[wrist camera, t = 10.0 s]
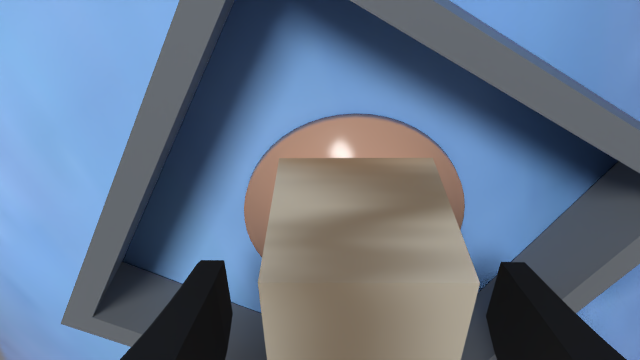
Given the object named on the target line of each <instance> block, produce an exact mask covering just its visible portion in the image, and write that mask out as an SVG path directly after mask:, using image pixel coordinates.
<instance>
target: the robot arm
mask: <svg viewBox="0 0 640 360" xmlns="http://www.w3.org/2000/svg"><path fill="white" fill-rule="evenodd" d="M232 316H233V312H232V306H231V300H230V293H229V287H228V281H227V275H226V269H225V263H224V261H223V260H201V261H200V262H199V263H198V264H197V265H196V266H195V268H194V269H193V271H192V272H191V273H190V275H189V276H188V278H187V279H186V280H185V282H184V283H183V284H182V286H181V287H180V288H179V290H178V291H177V292H176V294H175V295H174V296H173V298H172V299H171V300H170V302H169V303H168V304H167V305H166V307H165V308H164V309H163V310H162V312H161V313H160V314H159V315H158V317H157V318H156V319H155V320H154V322H153V323H152V324H151V325H150V326H149V328H148V329H147V330H146V331H145V332H144V333H143V334H142V336H141V337H140V338H139V339H138V340H137V341H136V342H135V344H134V345H133V346H132V347H131V348H130V349H129V350H128V351H127V353H126V354H125V355H124V356H123V357H122V358H121V359H120V360H225V358H226V354H227V350H228V343H229V337H230V330H231V323H232ZM486 319H487V323H488V327H489V332H490V336H491V340H492V344H493V348H494V352H495V355H496V358H497V360H626V359H625V358H624V357H623V356H622V355H621V354H619V353H618V352H617V351H616V350H615V349H614V348H612V347H611V346H610V345H609V344H608V343H607V342H606V341H605V340H603V339H602V338H601V337H600V336H599V335H598V334H597V333H596V332H595V331H594V330H593V329H592V328H590V327H589V326H588V325H587V324H586V323H585V322H584V321H583V320H582V319H581V318H580V317H579V316H578V315H577V314H576V313H575V312H574V311H573V310H572V309H571V308H570V307H569V306H568V305H567V304H566V303H565V302H564V301H563V300H562V299H561V298H560V297H559V296H558V295H557V294H556V293H555V292H554V291H553V290H552V289H551V288H550V287H549V286H548V285H547V284H546V283H545V282H544V281H543V280H542V279H541V278H540V277H539V276H538V275H537V274H536V273H535V272H534V271H533V270H532V269H531V268H530V267H529V266H528V265H527V264H526V263H525V262H501V264H500V267H499V271H498V274H497V278H496V281H495V285H494V288H493V292H492V296H491V299H490V303H489V306H488V310H487V313H486Z"/></svg>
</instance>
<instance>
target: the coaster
mask: <svg viewBox="0 0 640 360" xmlns="http://www.w3.org/2000/svg"><path fill="white" fill-rule="evenodd" d="M279 158H433V160H434V162H435V165H436V168H437V170H438V173H439V176H440V178H441V181H442V184H443V186H444V189H445V192H446V194H447V197H448V200H449V202H450V205H451V208H452V210H453V213H454V215H455V218H456V221H457V223H458V226H459V229H461V225H462V221H463V217H464V208H465V205H464V193H463V189H462V185H461V182H460V179H459V177H458V174H457V172H456V170H455V168H454V165H453V164H452V162H451V160H450V159H449V157H448V156H447V154H446V153H445V152H444V151H443V150H442V148H441V147H440V146H439V145H438V144H437V143H436V142H435V141H433V140H432V139H431V138H430V137H429V136H428V135H426V134H424V133H423V132H421V131H420V130H418V129H416V128H415V127H412V126H410V125H408V124H406V123H404V122H401V121H398V120H395V119H392V118H388V117H383V116H378V115H372V114H343V115H336V116H330V117H325V118H322V119H318V120H315V121H312V122H309V123H307V124H305V125H303V126H300V127H298V128H296V129H294V130H293V131H291V132H290V133H288V134H286V135H285V136H283V137H282V138H281V139H279V140H278V141H277V142H276V143H275V144H274V145H272V146H271V147H270V149H269V150H268V151H267V152H266V153H265V154H264V155H263V156H262V158H261V159H260V161H259V162H258V164H257V165H256V167H255V169H254V171H253V173H252V176H251V178H250V181H249V185H248V188H247V192H246V196H245V204H244V216H245V223H246V228H247V232H248V234H249V237H250V239H251V242H252V243H253V245H254V247H255V249H256V250H257V252H258V253H259V254H260V256H261V257H262V256H263V250H264V244H265V238H266V232H267V227H268V221H269V215H270V209H271V203H272V198H273V192H274V186H275V180H276V174H277V168H278V163H279Z"/></svg>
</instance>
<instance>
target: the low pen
mask: <svg viewBox="0 0 640 360" xmlns="http://www.w3.org/2000/svg"><path fill="white" fill-rule="evenodd" d="M234 1H235V0H180V1H179V3H178V6H177V9H176V11H175V14H174V17H173V20H172V22H171V25H170V28H169V30H168V33H167V36H166V39H165V41H164V44H163V47H162V50H161V52H160V55H159V58H158V60H157V63H156V66H155V69H154V71H153V74H152V77H151V79H150V82H149V85H148V88H147V90H146V93H145V96H144V98H143V101H142V104H141V107H140V109H139V112H138V115H137V118H136V120H135V123H134V126H133V128H132V131H131V134H130V137H129V139H128V142H127V145H126V147H125V150H124V153H123V156H122V158H121V161H120V164H119V166H118V169H117V172H116V175H115V177H114V180H113V183H112V186H111V188H110V191H109V194H108V196H107V199H106V202H105V205H104V207H103V210H102V213H101V215H100V218H99V221H98V224H97V226H96V229H95V232H94V234H93V237H92V240H91V243H90V245H89V248H88V251H87V254H86V256H85V259H84V262H83V264H82V267H81V270H80V273H79V275H78V278H77V281H76V283H75V286H74V289H73V292H72V294H71V297H70V300H69V302H68V305H67V308H66V311H65V313H64V316H63V319H62V322H61V324H63V325H66V326H69V327H72V328H75V329H78V330H81V331H84V332H87V333H90V334H94V335H97V336H100V337H103V338H106V339H109V340H112V341H115V342H118V343H121V344H124V345H127V346H130V347H132V346H133V345H134V344H135V342H136V341H137V340H138V339H139V338H140V337H141V336H142V334H143V333H144V332H145V331H146V330H147V329H148V328H149V326H150V325H151V324H152V323H153V322H154V320H155V319H156V318H157V317H158V315H159V314H160V313H161V312H162V310H163V309H164V308H165V307H166V305H167V304H168V303H169V302H170V300H171V299H172V298H173V296H174V295H175V294H176V292H177V291H178V290H179V288H180V287H181V286H182V284H180V283H178V282H175V281H172V280H170V279H167V278H164V277H162V276H159V275H156V274H154V273H151V272H148V271H145V270H143V269H140V268H137V267H135V266H132V265H129V264H127V263H124V262H122V261H123V258H124V256H125V254H126V252H127V249H128V247H129V245H130V242H131V240H132V238H133V235H134V233H135V231H136V228H137V226H138V224H139V221H140V219H141V217H142V214H143V212H144V210H145V207H146V205H147V203H148V200H149V198H150V196H151V193H152V191H153V189H154V187H155V184H156V182H157V180H158V177H159V175H160V173H161V170H162V168H163V166H164V163H165V161H166V159H167V156H168V154H169V152H170V149H171V147H172V145H173V142H174V140H175V138H176V135H177V133H178V131H179V128H180V126H181V124H182V122H183V119H184V117H185V115H186V112H187V110H188V108H189V105H190V103H191V101H192V98H193V96H194V94H195V91H196V89H197V87H198V84H199V82H200V80H201V77H202V75H203V73H204V70H205V68H206V66H207V64H208V61H209V59H210V57H211V54H212V52H213V50H214V47H215V45H216V43H217V40H218V38H219V36H220V33H221V31H222V29H223V26H224V24H225V22H226V19H227V17H228V15H229V12H230V10H231V8H232V5H233V3H234ZM350 1H352V2H353V3H355V4H357V5H358V6H360V7H362V8H363V9H365V10H367V11H368V12H370V13H372V14H373V15H375V16H377V17H378V18H380V19H382V20H383V21H385V22H387V23H389V24H390V25H392V26H394V27H395V28H397V29H399V30H400V31H402V32H404V33H405V34H407V35H409V36H410V37H412V38H414V39H415V40H417V41H419V42H420V43H422V44H424V45H425V46H427V47H429V48H430V49H432V50H434V51H435V52H437V53H439V54H440V55H442V56H444V57H445V58H447V59H449V60H451V61H452V62H454V63H456V64H457V65H459V66H461V67H462V68H464V69H466V70H467V71H469V72H471V73H472V74H474V75H476V76H477V77H479V78H481V79H482V80H484V81H486V82H487V83H489V84H491V85H492V86H494V87H496V88H497V89H499V90H501V91H502V92H504V93H506V94H508V95H509V96H511V97H513V98H514V99H516V100H518V101H519V102H521V103H523V104H524V105H526V106H528V107H529V108H531V109H533V110H534V111H536V112H538V113H539V114H541V115H543V116H544V117H546V118H548V119H549V120H551V121H553V122H554V123H556V124H558V125H559V126H561V127H563V128H565V129H566V130H568V131H570V132H571V133H573V134H575V135H576V136H578V137H580V138H581V139H583V140H585V141H586V142H588V143H590V144H591V145H593V146H595V147H596V148H598V149H600V150H601V151H603V152H605V153H606V154H608V155H610V156H611V157H613V158H615V159H616V160H618V161H619V162H618V163H616V164H615V165H614V166H613V167H612V168H611V169H610V170H609V171H608V172H607V173H606V174H605V175H604V176H603V177H602V178H600V179H599V180H598V181H597V182H596V183H595V184H594V185H593V186H592V187H591V188H590V189H589V190H588V191H587V192H585V193H584V194H583V195H582V196H581V197H580V198H579V199H578V200H577V201H576V202H575V203H574V204H573V205H572V206H571V207H569V208H568V209H567V210H566V211H565V212H564V213H563V214H562V215H561V216H560V217H559V218H558V219H557V220H556V221H555V222H553V223H552V224H551V225H550V226H549V227H548V228H547V229H546V230H545V231H544V232H543V233H542V234H541V235H540V236H538V237H537V238H536V239H535V240H534V241H533V242H532V243H531V244H530V245H529V246H528V247H527V248H526V249H525V250H524V251H522V252H521V253H520V254H519V255H518V256H517V257H516V258H515V259H514V260H513V261H512V262H525V263H526V264H527V265H528V266H529V267H530V268H531V269H532V270H533V271H534V272H535V273H536V274H537V275H538V276H539V277H540V278H541V279H542V280H543V281H544V282H545V283H546V284H547V285H548V286H549V287H550V288H551V289H552V290H553V291H554V292H555V293H556V294H557V295H558V296H559V297H560V298H561V299H562V300H563V301H564V302H565V303H566V304H567V305H568V306H569V307H570V308H571V309H572V310H573V311H574V312H575V313H577V312H578V311H579V310H581V309H582V308H583V307H585V306H586V305H587V304H588V303H590V302H591V301H592V300H594V299H595V298H596V297H597V296H599V295H600V294H601V293H602V292H604V291H605V290H606V289H608V288H609V287H610V286H611V285H613V284H614V283H615V282H617V281H618V280H619V279H620V278H622V277H623V276H624V275H626V274H627V273H628V272H629V271H631V270H632V269H633V268H635V267H636V266H637V265H638V264H640V122H639V121H637V120H636V119H634V118H633V117H631V116H630V115H628V114H626V113H625V112H623V111H622V110H620V109H619V108H617V107H615V106H614V105H612V104H611V103H609V102H608V101H606V100H604V99H603V98H601V97H600V96H598V95H597V94H595V93H593V92H592V91H590V90H589V89H587V88H586V87H584V86H583V85H581V84H579V83H578V82H576V81H575V80H573V79H572V78H570V77H568V76H567V75H565V74H564V73H562V72H561V71H559V70H557V69H556V68H554V67H553V66H551V65H550V64H548V63H546V62H545V61H543V60H542V59H540V58H539V57H537V56H535V55H534V54H532V53H531V52H529V51H528V50H526V49H524V48H523V47H521V46H520V45H518V44H517V43H515V42H513V41H512V40H510V39H509V38H507V37H506V36H504V35H503V34H501V33H499V32H498V31H496V30H495V29H493V28H492V27H490V26H488V25H487V24H485V23H484V22H482V21H481V20H479V19H477V18H476V17H474V16H473V15H471V14H470V13H468V12H466V11H465V10H463V9H462V8H460V7H459V6H457V5H455V4H454V3H452V2H451V1H449V0H350ZM496 278H497V276H496V277H495V278H494V279H493V280H491V281H490V282H489V283H488V284H487V285H486V286H485V287H484V288H483V289H482V290H481V291H480V292H479V293H478V294H477V297H476V301H475V305H474V309H473V313H472V317H471V321H470V325H469V329H468V333H467V337H466V341H465V345H464V349H463V353H462V357H461V360H497V358H496V355H495V352H494V348H493V344H492V340H491V336H490V332H489V327H488V323H487V319H486V313H487V310H488V306H489V303H490V299H491V296H492V292H493V288H494V285H495V281H496ZM231 306H232V312H233V316H232V323H231V330H230V337H229V343H228V350H227V354H226V358H225V360H267V355H266V347H265V338H264V330H263V322H262V314H261V313H258V312H255V311H253V310H250V309H247V308H245V307H242V306H239V305H237V304H234V303H231Z"/></svg>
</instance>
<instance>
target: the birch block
mask: <svg viewBox="0 0 640 360" xmlns="http://www.w3.org/2000/svg"><path fill="white" fill-rule="evenodd" d="M479 285H480V282H479V279H478V276H477V274H476V271H475V269H474V266H473V263H472V261H471V258H470V255H469V253H468V250H467V247H466V245H465V242H464V239H463V237H462V234H461V231H460V229H459V226H458V223H457V221H456V218H455V215H454V213H453V210H452V208H451V205H450V202H449V200H448V197H447V194H446V192H445V189H444V186H443V184H442V181H441V178H440V176H439V173H438V170H437V168H436V165H435V162H434V160H433V158H279V163H278V168H277V174H276V180H275V186H274V192H273V198H272V203H271V209H270V215H269V221H268V227H267V232H266V238H265V244H264V250H263V256H262V262H261V267H260V273H259V279H258V288H259V296H260V305H261V313H262V322H263V330H264V338H265V347H266V355H267V360H461V357H462V353H463V349H464V345H465V341H466V337H467V333H468V329H469V325H470V321H471V317H472V313H473V309H474V305H475V301H476V297H477V293H478V289H479Z"/></svg>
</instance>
